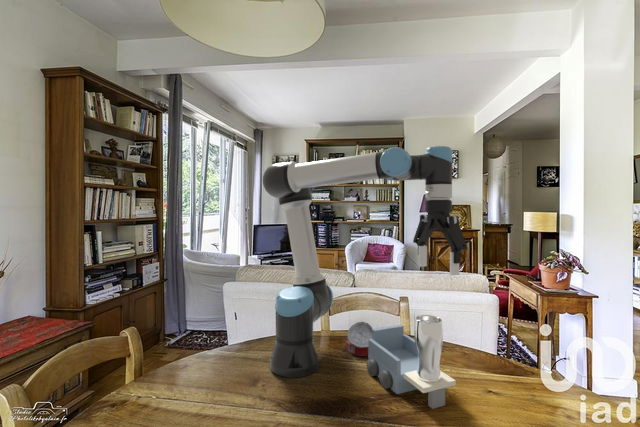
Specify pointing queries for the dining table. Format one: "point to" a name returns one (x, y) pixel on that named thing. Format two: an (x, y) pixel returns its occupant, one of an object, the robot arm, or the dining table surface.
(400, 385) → the trailer
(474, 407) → the dining table surface
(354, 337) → the canned food
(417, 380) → the tailgate
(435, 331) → the beer glass
